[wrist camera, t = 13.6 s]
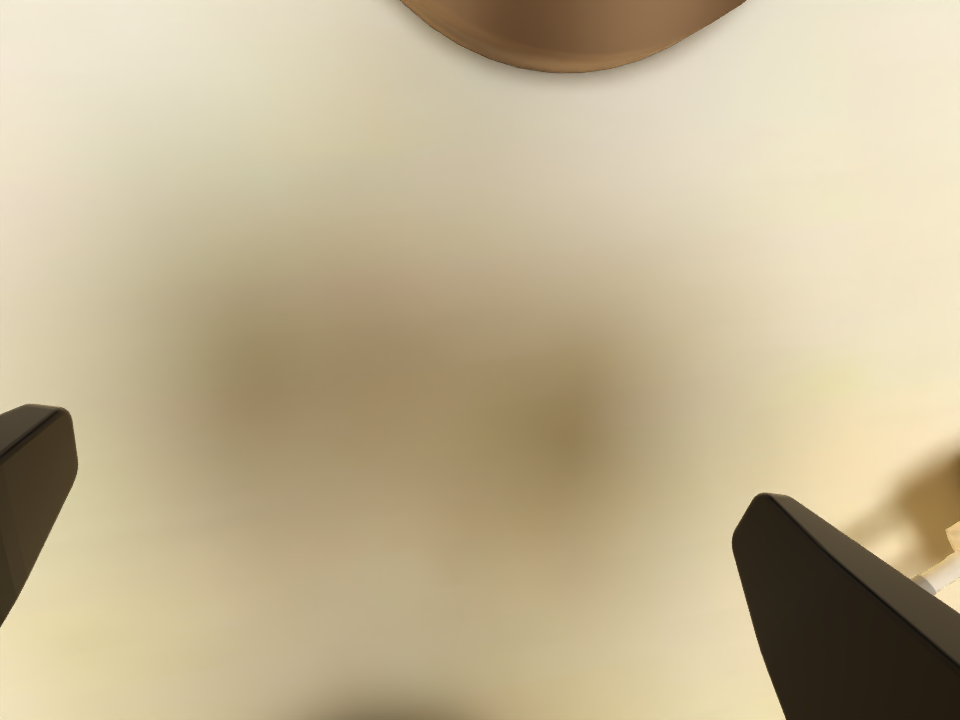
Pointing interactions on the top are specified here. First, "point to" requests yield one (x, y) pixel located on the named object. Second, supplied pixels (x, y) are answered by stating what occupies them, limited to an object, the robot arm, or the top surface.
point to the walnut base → (569, 29)
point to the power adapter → (943, 566)
